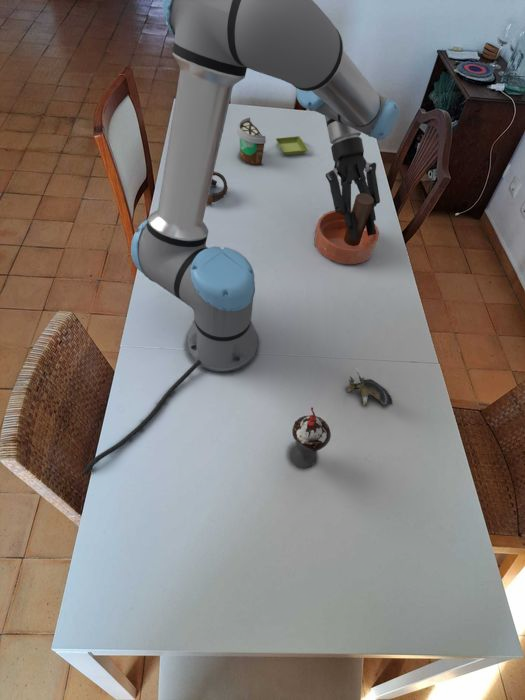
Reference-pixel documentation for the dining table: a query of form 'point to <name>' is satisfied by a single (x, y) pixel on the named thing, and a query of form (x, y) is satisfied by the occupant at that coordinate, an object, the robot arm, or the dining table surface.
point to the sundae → (308, 439)
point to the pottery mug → (219, 195)
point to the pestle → (360, 216)
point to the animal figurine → (370, 390)
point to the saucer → (292, 145)
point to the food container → (250, 143)
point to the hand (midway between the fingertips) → (363, 236)
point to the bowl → (342, 240)
